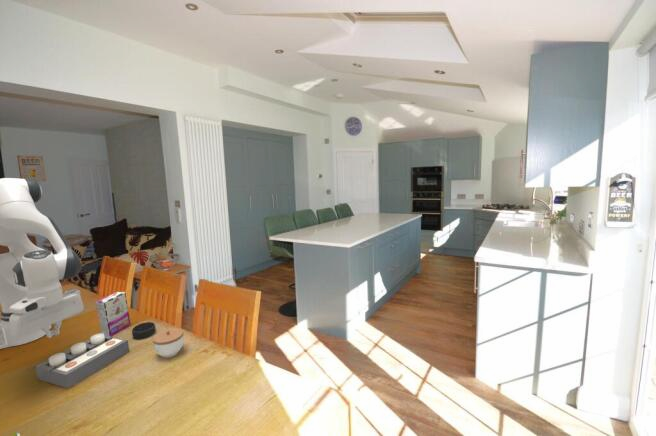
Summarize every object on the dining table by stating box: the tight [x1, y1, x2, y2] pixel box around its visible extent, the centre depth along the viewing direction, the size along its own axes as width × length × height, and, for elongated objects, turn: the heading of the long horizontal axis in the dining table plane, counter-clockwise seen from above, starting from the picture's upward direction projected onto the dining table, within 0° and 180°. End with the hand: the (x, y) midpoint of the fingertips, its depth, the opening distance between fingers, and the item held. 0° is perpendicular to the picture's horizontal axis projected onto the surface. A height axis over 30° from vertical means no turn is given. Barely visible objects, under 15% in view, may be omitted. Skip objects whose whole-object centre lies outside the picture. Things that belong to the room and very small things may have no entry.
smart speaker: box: [131, 321, 157, 340], centre depth 137 cm, size 9×9×4 cm
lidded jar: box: [152, 327, 185, 359], centre depth 122 cm, size 11×11×9 cm
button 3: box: [90, 332, 105, 347], centre depth 123 cm, size 4×4×4 cm
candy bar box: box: [95, 291, 131, 337], centre depth 140 cm, size 11×5×16 cm, turn 168°
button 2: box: [70, 341, 87, 357], centre depth 117 cm, size 4×4×4 cm
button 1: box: [48, 352, 67, 369], centre depth 110 cm, size 4×4×4 cm
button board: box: [35, 335, 130, 389], centre depth 116 cm, size 16×22×6 cm
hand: (53, 335), depth 108 cm, fingers closed
